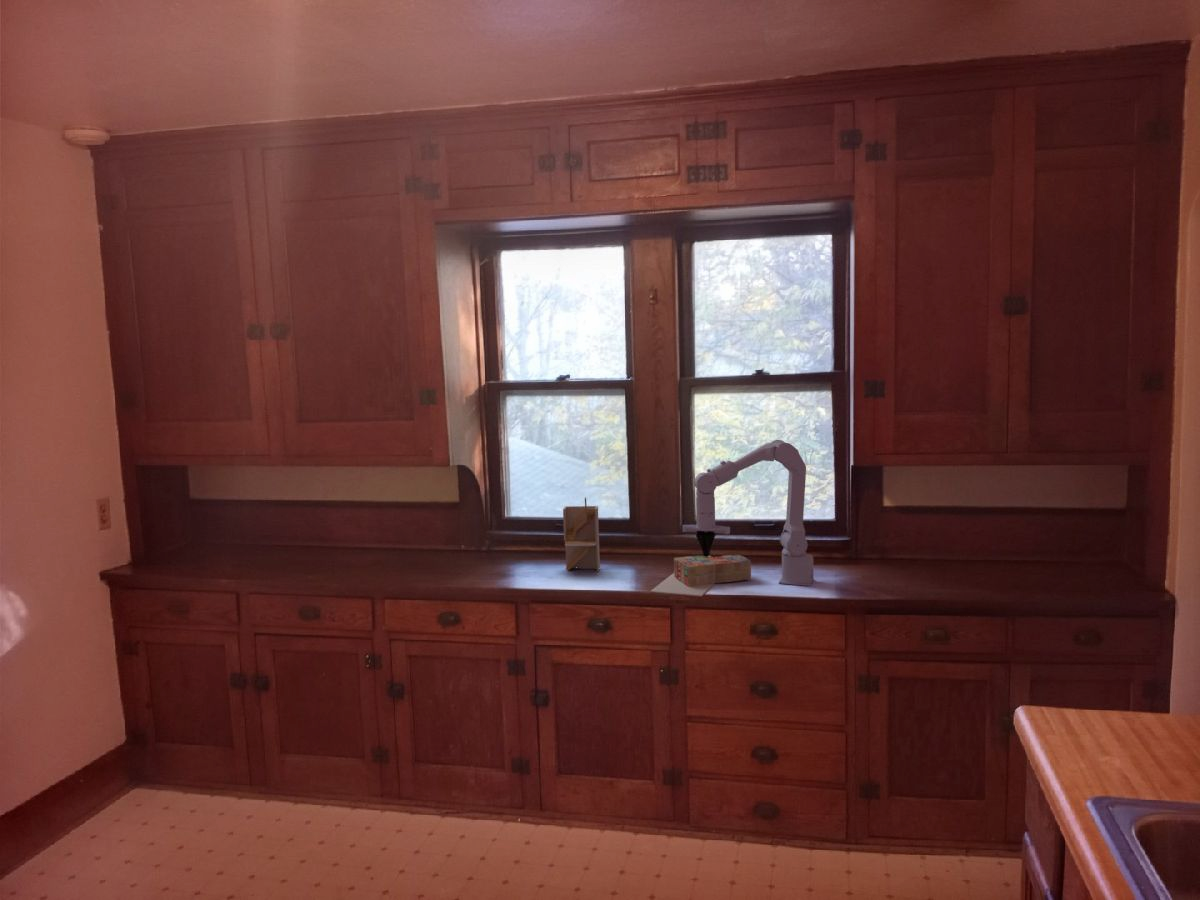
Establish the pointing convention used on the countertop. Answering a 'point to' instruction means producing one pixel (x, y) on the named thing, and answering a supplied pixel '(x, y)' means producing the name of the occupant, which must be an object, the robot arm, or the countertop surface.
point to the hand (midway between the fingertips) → (706, 555)
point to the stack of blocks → (711, 569)
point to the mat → (680, 587)
